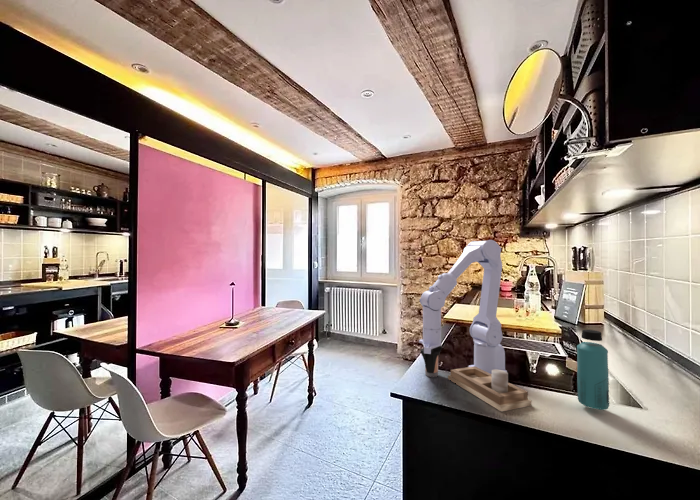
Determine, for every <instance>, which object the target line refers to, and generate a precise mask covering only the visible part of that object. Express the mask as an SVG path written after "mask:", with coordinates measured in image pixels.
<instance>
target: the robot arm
mask: <svg viewBox="0 0 700 500" xmlns="http://www.w3.org/2000/svg"><path fill="white" fill-rule="evenodd" d="M462 251H463V252H462V253H461V255H460V256H459V257H458V259H456V261H455V262H454V264H453V266H452V267H451V268H450V269H449V270H448V272H443V273H441V274H439V275H438V276H437V279H436V281H435V282H434V283H433V284H432V285H431V286H429V287H428V290H425V291H424V292H422V293H421V296H420V298H419V304H420V305H421V306H422V339H418V343H420V344H422V346H423V348H421V349H420V354H421V356H422V358H423V361H424V366H426V371H427V372H428V373H434V370H435V363H436V359H437V356H438V359H439V358H440V357H439V356H440V353H441V351H442V350H443V345H442V309H443V307H445V305H446V304H445V303H446V299H447V297H448V296H449V295H450V293H451V292H452V291H453V290H454V289H455V287H456V286H457V285H458V281H457V280H458V278H459V277H460V276H461V275H462V274H463V273H464V272H465V271H466V270H468V268H469V267H470V265H472V264H473V263H478V264H479V265H480V266H481V268H482V269H483V276H482V285H481V292H480V300H479V308H478V313H477V314H476V315H475V316H474V317H473V319H472V323H471V325H470V327H469V334H470V337H472V341H473V344H474V345H473V364H470V365H467V367H474V366H475V367H477V368H479V369H481V370H484V371H486V372H488V373H490V374H492V370H494V369H498V370H503V371H506V372H507V373H508V370H506V351H505V348H504V346H503V345H502V344H501V342H502V340H503V332H502V323H501V322H500V320H499V319H498V317H497V311H498V303H499V295H500V290H501V289H500V287H501V279H502V272H503V271H502V270H503V263H502V257H501V254H502V253H501V252H502V247H501V246H500V245H499V244H498V243H497V241H495V240H493V239H488V240H471V242H469V243H468V244H467V245H466V246H465V247H464V248H463V250H462Z"/></svg>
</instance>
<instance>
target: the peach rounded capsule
mask: <svg viewBox="0 0 700 500" xmlns="http://www.w3.org/2000/svg"><path fill="white" fill-rule="evenodd" d="M424 366H425V365H424ZM424 369H425V370H424V373H425V377H428V378H432V377H434V378H437V376H438V377H439V358H438V356H437V359H436V363H435V370H434V373H428V372H427V371H426V366H425V368H424Z"/></svg>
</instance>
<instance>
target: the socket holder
mask: <svg viewBox="0 0 700 500" xmlns="http://www.w3.org/2000/svg"><path fill="white" fill-rule="evenodd" d="M447 379H448V380H449V381H450V380H451V381H450V382H453V384H455V383H456V384H455V385H457V386H459V387H460V388H461V389H463V390H465V391H467V392H468V393H470V394H472V395H474V396H475V397H476V398H479V400H481V401H483V402H485V403H487V404H489V405H490V406H491V407H493V408H495V409H496V410H498V411H499V412H506V411H511V410H515V409H520V408H525V407H526V408H527V407H531V406H532V400H531V399H529V391H527V390H525V389H523V388H521V387H519V386H516V385H515V384H513V383H510V382H509V372H508V371H507V372H506V371H503V370H498V369H494V370H492V374H490V373H488V372H486V371H484V370H481V369H479V368H477V367H475V366H474V367H468V366H467V367H460V368H454V369H453V368H452V369H450V374H448V376H447Z"/></svg>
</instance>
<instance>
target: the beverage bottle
mask: <svg viewBox="0 0 700 500" xmlns="http://www.w3.org/2000/svg"><path fill="white" fill-rule="evenodd" d="M602 336H603V335H602V332H601V331H599V330H593V329H582V330H581V338H582V339H583V340H587V341H582V342H580V343H578V344H577V345H576V355H577V357H576V358H577V359H576V361H577V362H576V363H577V364H576V365H577V366H576V370H577V371H576V376H577V377H576V378H577V379H576V385H577V393H576V396H577V400H578V402H579V404H581V405H583V406H585V407H588V408H589V409H594V410H600V411H602V410H603V411H605V410H608V409H609V407H610V404H611V403H610V379H609V371H610V370H609V360H608V359H609V358H608V357H609V355H608V353H609V350H608V349H607V348H606V347H605V346H604V345H602V344H601V343H597V342H600V341H601V342H602V341H603V337H602ZM592 341H593V342H592ZM594 341H595V342H594Z"/></svg>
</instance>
